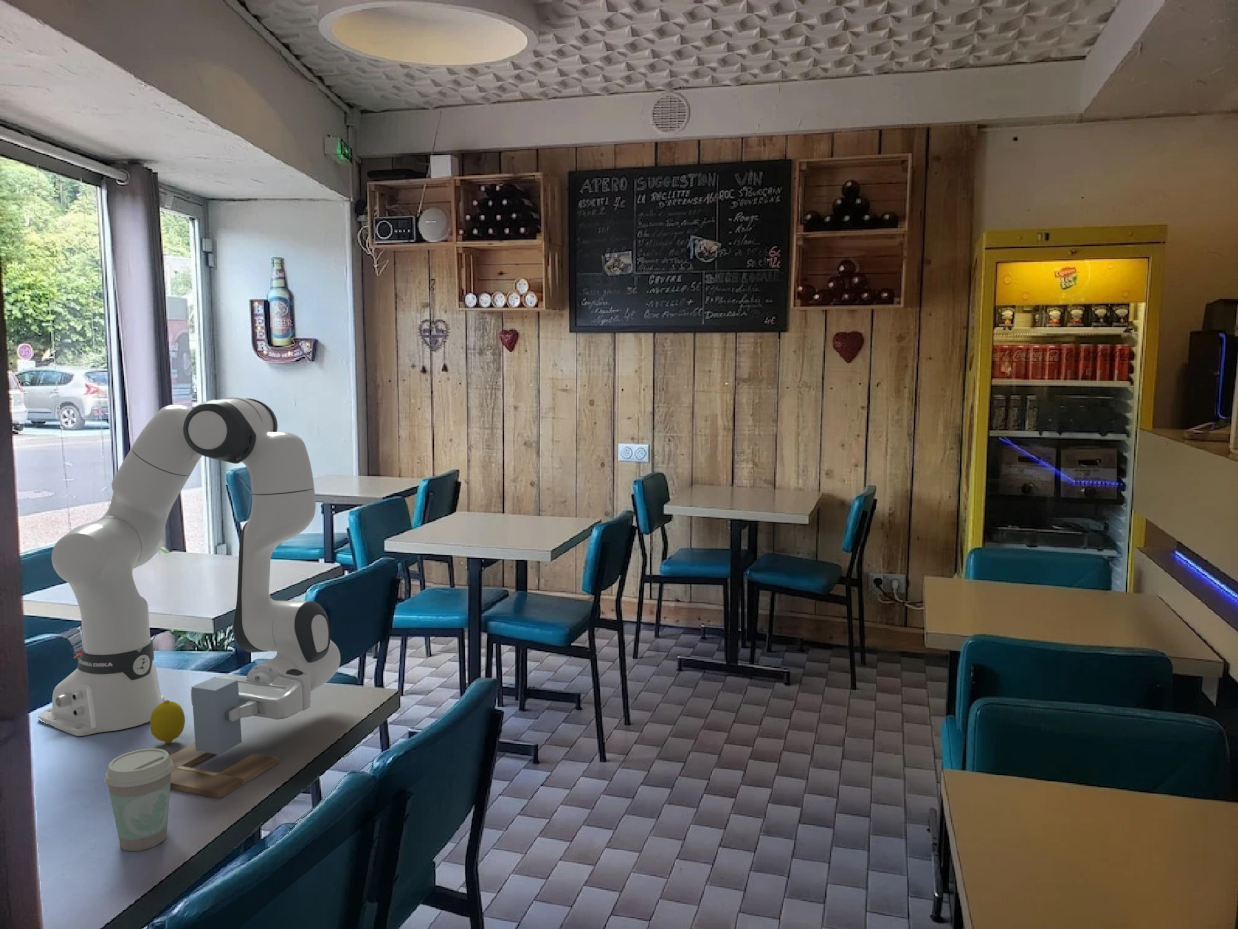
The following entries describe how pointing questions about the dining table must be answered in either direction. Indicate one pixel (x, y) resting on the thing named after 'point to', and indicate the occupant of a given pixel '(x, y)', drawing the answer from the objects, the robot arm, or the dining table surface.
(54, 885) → the dining table surface
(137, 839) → the coffee cup
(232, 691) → the blue-grey rectangular block
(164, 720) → the lemon
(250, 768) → the wooden u-shaped frame
